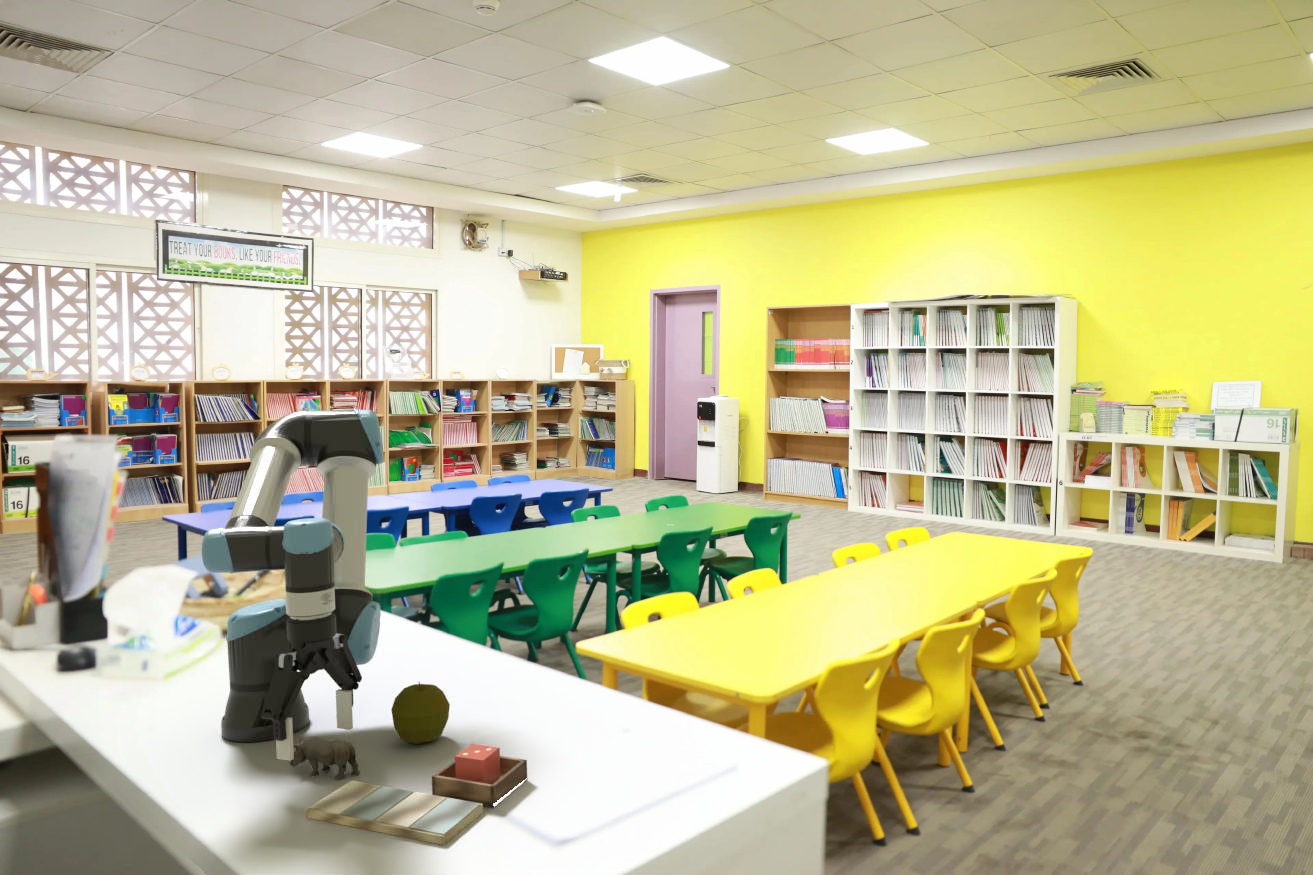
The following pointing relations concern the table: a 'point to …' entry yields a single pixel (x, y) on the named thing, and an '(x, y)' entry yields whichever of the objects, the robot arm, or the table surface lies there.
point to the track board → (396, 811)
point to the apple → (420, 713)
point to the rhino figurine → (326, 755)
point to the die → (478, 764)
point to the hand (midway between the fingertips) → (316, 742)
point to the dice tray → (478, 792)
